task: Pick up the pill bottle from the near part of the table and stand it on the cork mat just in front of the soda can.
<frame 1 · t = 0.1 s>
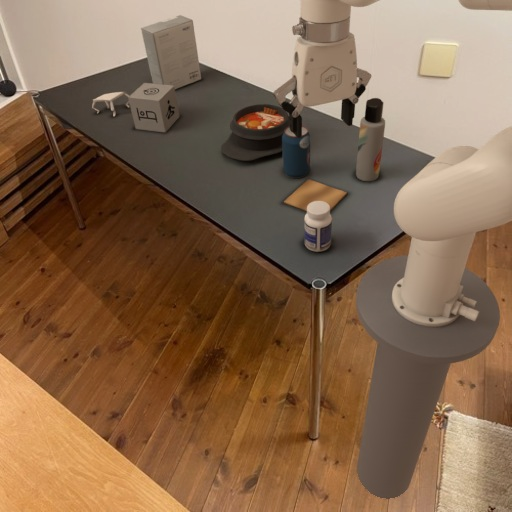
hand: (321, 128, 90), 28 cm above the table, tool pointing down, fingers open, 9 cm apart
lotion bottle: (367, 176, 128), on the table
cork mat: (315, 198, 122), on the table
pill bottle: (317, 244, 110), on the table
casserole: (262, 144, 142), on the table
hard drive box: (177, 84, 176), on the table
soda can: (296, 172, 131), on the table
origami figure: (115, 110, 163), on the table
icon cube: (158, 123, 155), on the table
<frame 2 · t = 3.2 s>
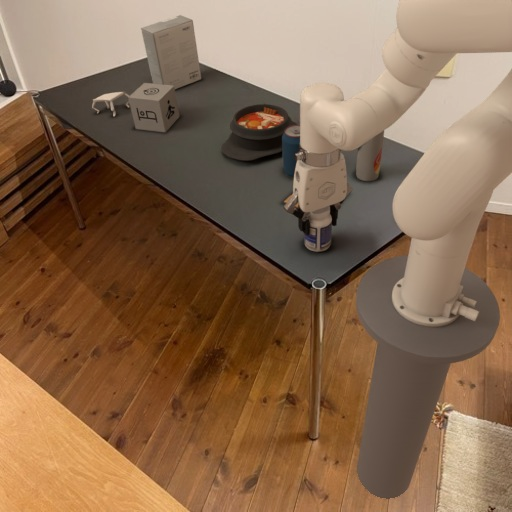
hand: (317, 226, 107), 5 cm above the table, tool pointing down, fingers closed on pill bottle, 5 cm apart
pill bottle: (317, 244, 110), on the table, touching gripper
everything else where it was.
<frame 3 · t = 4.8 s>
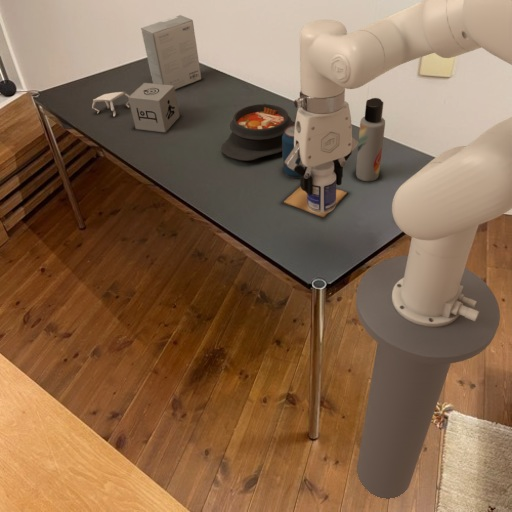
hand: (321, 185, 99), 15 cm above the table, tool pointing down, fingers closed on pill bottle, 5 cm apart
pill bottle: (321, 207, 103), point 10 cm above the table, touching gripper
everything else where it was.
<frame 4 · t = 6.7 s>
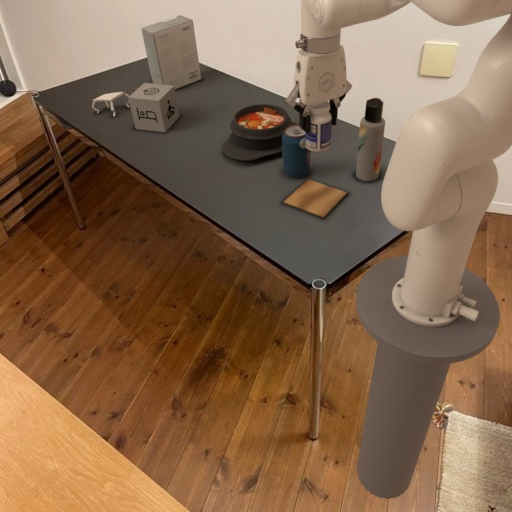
hand: (318, 125, 110), 19 cm above the table, tool pointing down, fingers closed on pill bottle, 5 cm apart
pill bottle: (317, 146, 113), point 14 cm above the table, touching gripper
everything else where it was.
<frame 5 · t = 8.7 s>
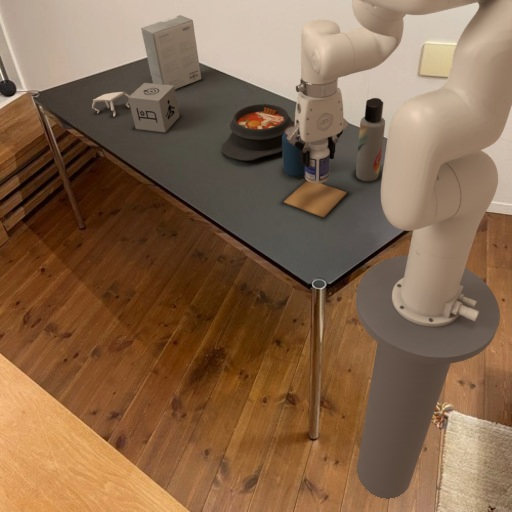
hand: (317, 159, 117), 9 cm above the table, tool pointing down, fingers closed on pill bottle, 5 cm apart
pill bottle: (316, 178, 121), point 4 cm above the table, touching gripper
everything else where it was.
when the fingers open (5 cm above the table, at t = 10.2 s): pill bottle stays where it is, resting on cork mat.
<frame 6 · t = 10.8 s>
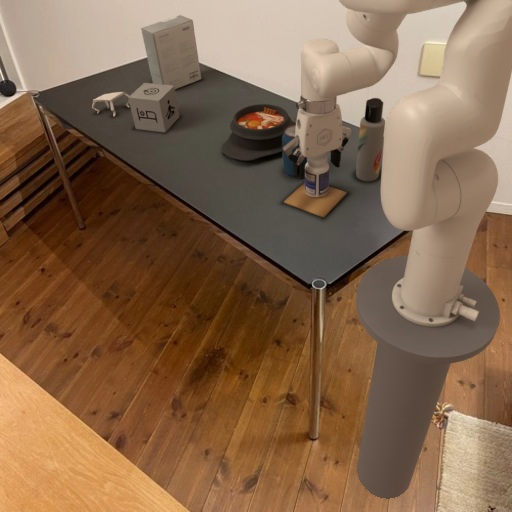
hand: (317, 170, 119), 6 cm above the table, tool pointing down, fingers open, 9 cm apart
pill bottle: (316, 192, 124), resting on cork mat
everything else where it was.
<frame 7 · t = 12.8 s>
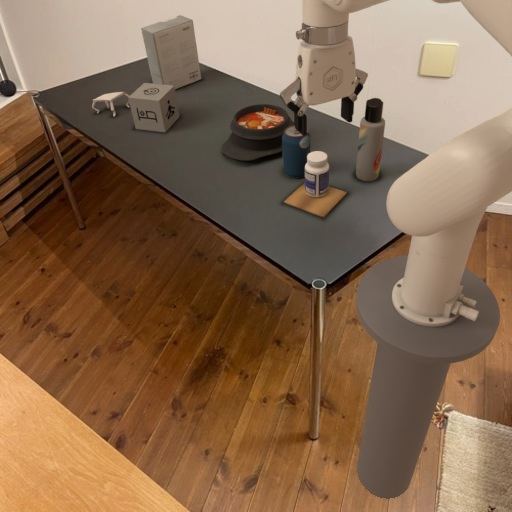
hand: (324, 125, 96), 26 cm above the table, tool pointing down, fingers open, 9 cm apart
nothing on the table moved.
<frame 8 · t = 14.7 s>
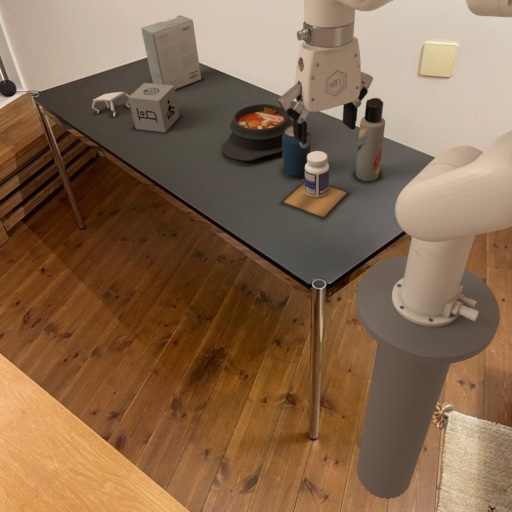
hand: (325, 133, 89), 28 cm above the table, tool pointing down, fingers open, 9 cm apart
nothing on the table moved.
at the end: pill bottle inside the target area on the table beside the soda can (0.7 cm from its centre), resting on cork mat; pill bottle tilted 0°; soda can moved 0.2 cm from its start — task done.
